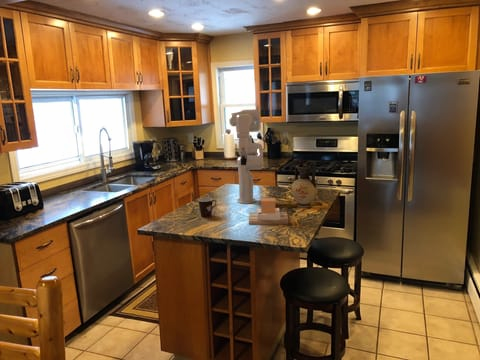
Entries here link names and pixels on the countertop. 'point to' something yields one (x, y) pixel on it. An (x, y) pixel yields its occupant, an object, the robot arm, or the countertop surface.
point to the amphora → (304, 183)
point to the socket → (268, 215)
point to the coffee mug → (206, 206)
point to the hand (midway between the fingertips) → (243, 163)
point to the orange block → (268, 205)
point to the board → (254, 220)
